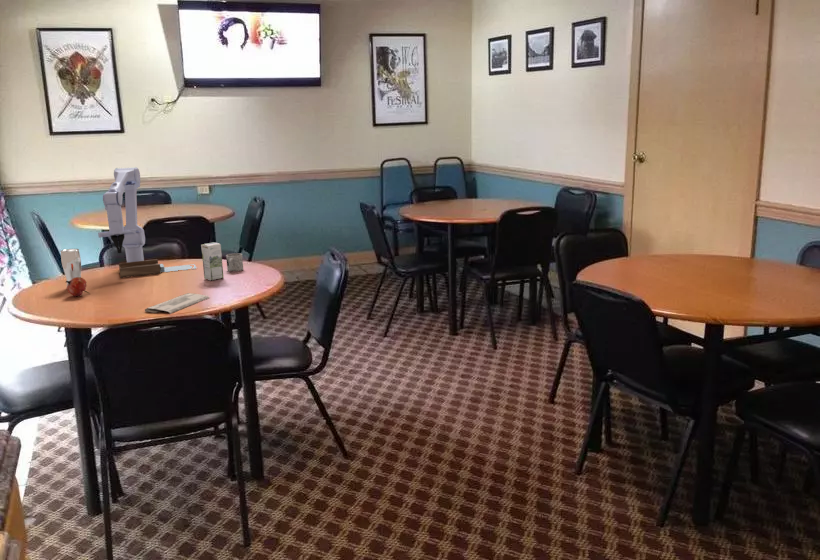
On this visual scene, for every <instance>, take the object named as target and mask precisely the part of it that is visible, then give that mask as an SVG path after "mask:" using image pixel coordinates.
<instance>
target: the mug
mask: <svg viewBox="0 0 820 560" xmlns="http://www.w3.org/2000/svg"><path fill="white" fill-rule="evenodd" d="M225 257H226V259H225V260H226V269H227V272H230V271H235V272H240V271H243V270H244V262H243V254H242V253H238V252H236V253H235V252H234V253H228V254H226V255H225Z"/></svg>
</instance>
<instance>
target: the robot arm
mask: <svg viewBox="0 0 820 560" xmlns="http://www.w3.org/2000/svg"><path fill="white" fill-rule="evenodd" d="M113 178H114V180H115V181H114V182H112V183H111V184H110V186H109V188H108V190H107V191H106V192H105V193H103V194H102V201H103V205H104V209H105V211H106V214H107V222H108V230H109V231H101V232H100V231H99V232H98V238H107V237H110V240H111V241H112V242H113V244H114V245H115V248H116V251H117V254H122V248H123V249H124V251H125V257H126V263H127V262H136V261H145V257H144V251H143V249H144V248H143V246H145V244H146V235H145V230H144V228H143V227H142V226H140V225H139V224H138V205H137V204H138V203H137V202H138V200H137V197H138V196H137V190H138V188H140V187H141V173H140V169H139V168H138V167H136V166H135V167H121V168H120V167H119V168H118V167H116V168H115V169H114V170H113ZM123 195H124V197H125V198H124V199H125V200H124V201H125V225H124V219H123V211H122V205H123Z"/></svg>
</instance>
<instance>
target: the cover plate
mask: <svg viewBox="0 0 820 560" xmlns="http://www.w3.org/2000/svg"><path fill="white" fill-rule="evenodd" d="M159 264H160V272H166V273H171V272H170V271H174V272H179V271H178V270H183V271H189V270H188V269H191V268H192V266H190V265H194V267H193V268H194V269H193V268H192V270H197V269H198V267H197V265H196V263H194V264H191V263H190V264H183V265H173V266H165V265H164V263H159ZM196 268H197V269H196Z"/></svg>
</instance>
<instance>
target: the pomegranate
mask: <svg viewBox="0 0 820 560" xmlns="http://www.w3.org/2000/svg"><path fill="white" fill-rule="evenodd" d="M65 283H66V290H67V292H68V293H69V294H70V295H71V296H73V297H76V296H79V297H81V296H82V295H83V293H87V294H89V293H90V292H88V291H86V288H87V281H86V279H84V277H82V276H81V277H75V278H73V279H72V280H70V281H67V280H66V281H65ZM67 283H68V285H67Z"/></svg>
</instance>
